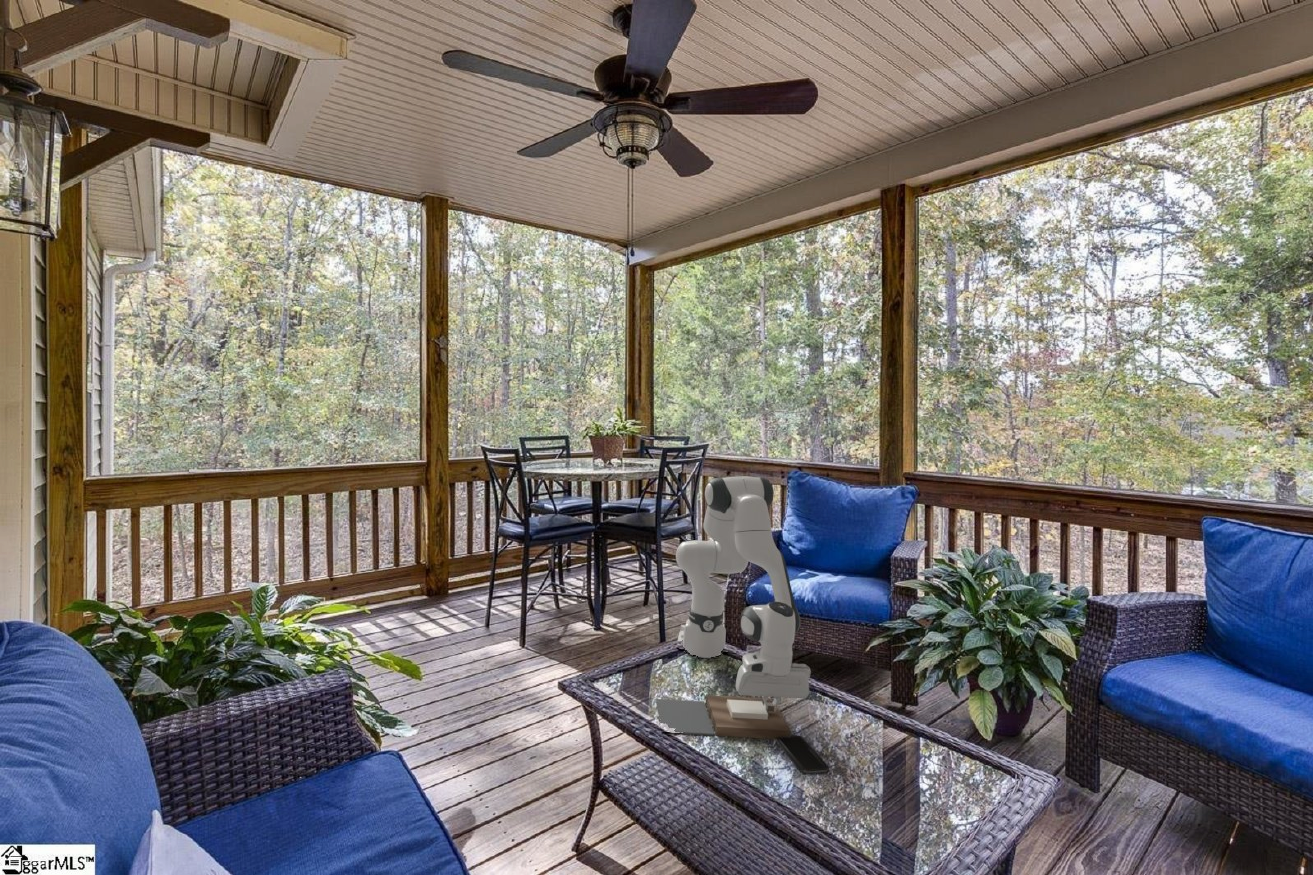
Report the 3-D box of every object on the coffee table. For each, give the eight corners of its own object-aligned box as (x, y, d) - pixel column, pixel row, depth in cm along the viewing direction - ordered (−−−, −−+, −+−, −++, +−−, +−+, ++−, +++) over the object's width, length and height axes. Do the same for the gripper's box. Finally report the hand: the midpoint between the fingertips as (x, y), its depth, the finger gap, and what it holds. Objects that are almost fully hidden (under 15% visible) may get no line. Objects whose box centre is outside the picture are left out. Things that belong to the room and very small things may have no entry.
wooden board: (705, 703, 176) (706, 695, 176) (772, 707, 178) (773, 698, 178) (715, 735, 159) (716, 726, 159) (789, 739, 161) (790, 730, 161)
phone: (802, 771, 146) (774, 736, 160) (802, 776, 146) (774, 740, 160) (831, 769, 148) (801, 735, 162) (831, 774, 148) (801, 739, 163)
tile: (726, 704, 172) (727, 699, 172) (761, 706, 172) (761, 701, 172) (731, 717, 165) (732, 712, 165) (767, 719, 166) (768, 714, 165)
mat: (656, 700, 175) (656, 698, 175) (703, 703, 176) (704, 701, 176) (661, 732, 158) (661, 731, 158) (714, 735, 159) (714, 733, 159)
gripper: (807, 659, 172) (802, 706, 173) (737, 655, 171) (732, 702, 171) (815, 669, 166) (809, 718, 167) (742, 665, 164) (736, 714, 165)
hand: (769, 710), depth 169 cm, fingers closed
